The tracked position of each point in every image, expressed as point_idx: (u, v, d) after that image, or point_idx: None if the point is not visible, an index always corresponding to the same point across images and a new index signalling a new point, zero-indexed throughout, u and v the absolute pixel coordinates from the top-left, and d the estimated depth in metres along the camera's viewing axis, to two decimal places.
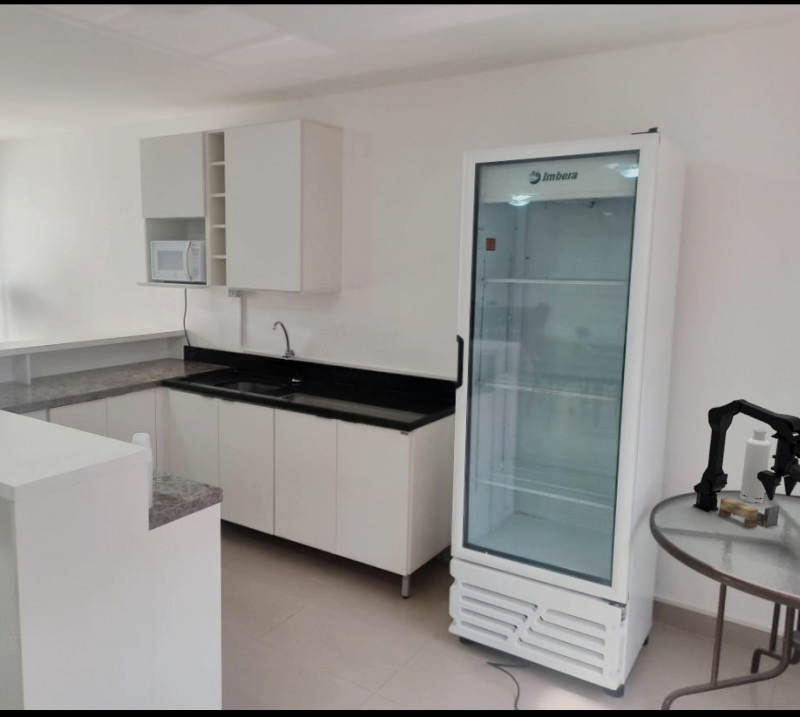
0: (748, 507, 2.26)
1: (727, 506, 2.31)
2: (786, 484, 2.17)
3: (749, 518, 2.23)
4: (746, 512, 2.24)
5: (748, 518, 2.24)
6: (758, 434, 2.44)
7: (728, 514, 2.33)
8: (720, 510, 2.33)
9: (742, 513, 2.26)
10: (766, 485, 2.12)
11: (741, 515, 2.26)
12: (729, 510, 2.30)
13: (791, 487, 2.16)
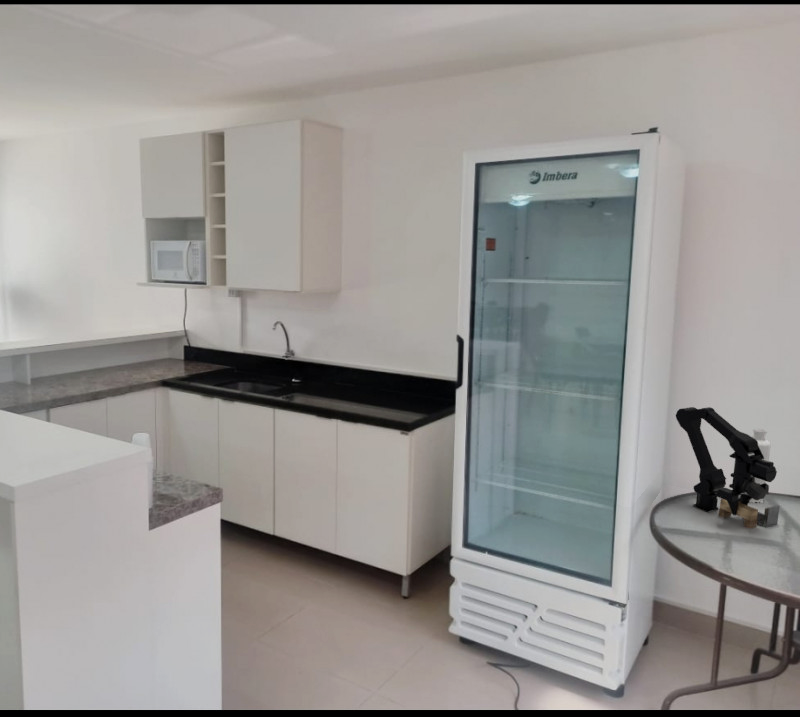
0: (748, 507, 2.26)
1: (727, 506, 2.31)
2: (740, 501, 2.30)
3: (749, 518, 2.23)
4: (746, 512, 2.24)
5: (748, 518, 2.24)
6: (758, 434, 2.44)
7: (728, 514, 2.33)
8: (720, 510, 2.33)
9: (742, 513, 2.26)
10: None
11: (741, 515, 2.26)
12: (729, 510, 2.30)
13: None
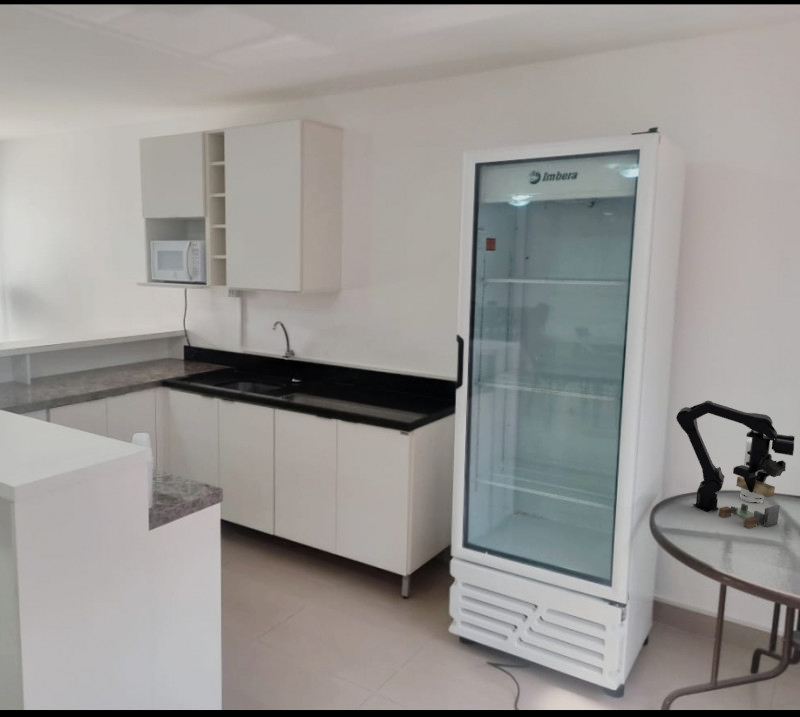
0: (765, 484, 2.28)
1: (744, 483, 2.33)
2: (756, 479, 2.33)
3: (766, 495, 2.26)
4: (763, 489, 2.27)
5: (764, 495, 2.26)
6: None
7: (728, 514, 2.33)
8: (720, 510, 2.33)
9: (759, 490, 2.28)
10: (746, 478, 2.30)
11: (758, 492, 2.28)
12: (746, 488, 2.32)
13: None
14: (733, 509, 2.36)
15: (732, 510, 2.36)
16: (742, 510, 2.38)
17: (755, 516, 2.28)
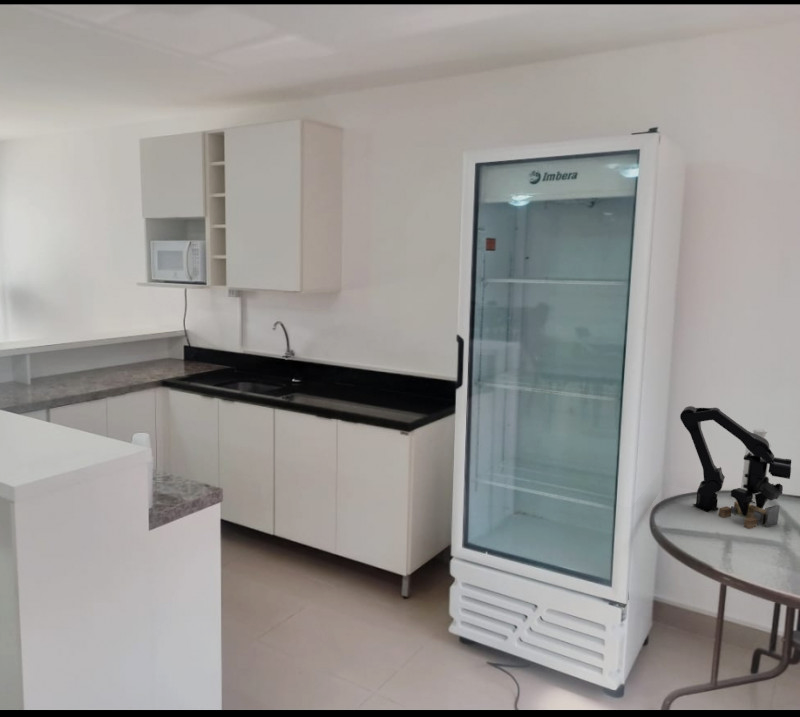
0: (762, 510, 2.30)
1: None
2: (757, 500, 2.35)
3: None
4: None
5: None
6: (758, 434, 2.44)
7: (728, 514, 2.33)
8: (720, 510, 2.33)
9: None
10: (740, 501, 2.31)
11: None
12: None
13: (762, 504, 2.34)
14: (733, 509, 2.36)
15: (732, 510, 2.36)
16: None
17: (755, 516, 2.28)
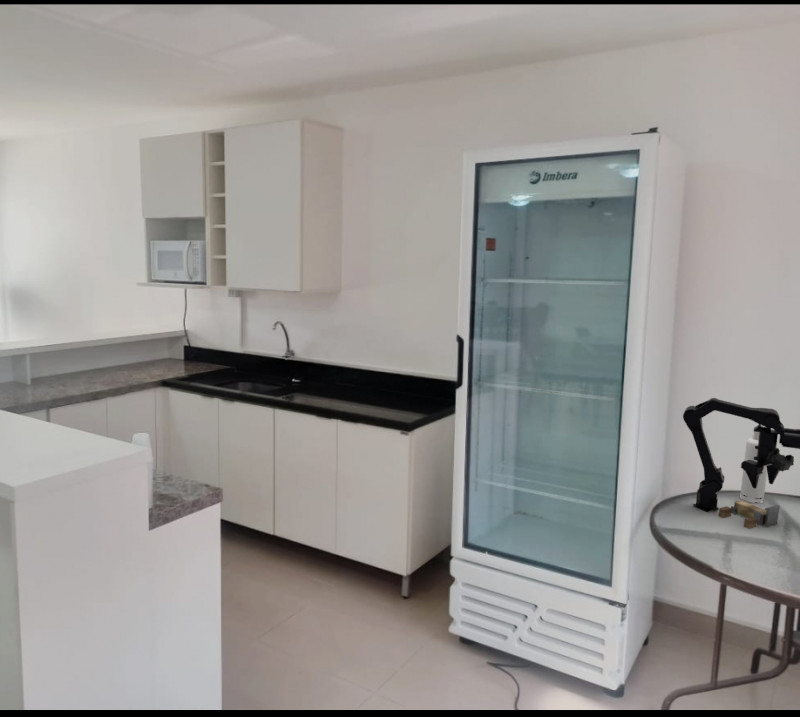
0: (762, 510, 2.30)
1: (741, 509, 2.35)
2: (769, 473, 2.33)
3: None
4: None
5: None
6: (758, 434, 2.44)
7: (728, 514, 2.33)
8: (720, 510, 2.33)
9: None
10: (750, 474, 2.28)
11: None
12: (743, 513, 2.34)
13: (774, 476, 2.32)
14: (733, 509, 2.36)
15: (732, 510, 2.36)
16: None
17: (755, 516, 2.28)
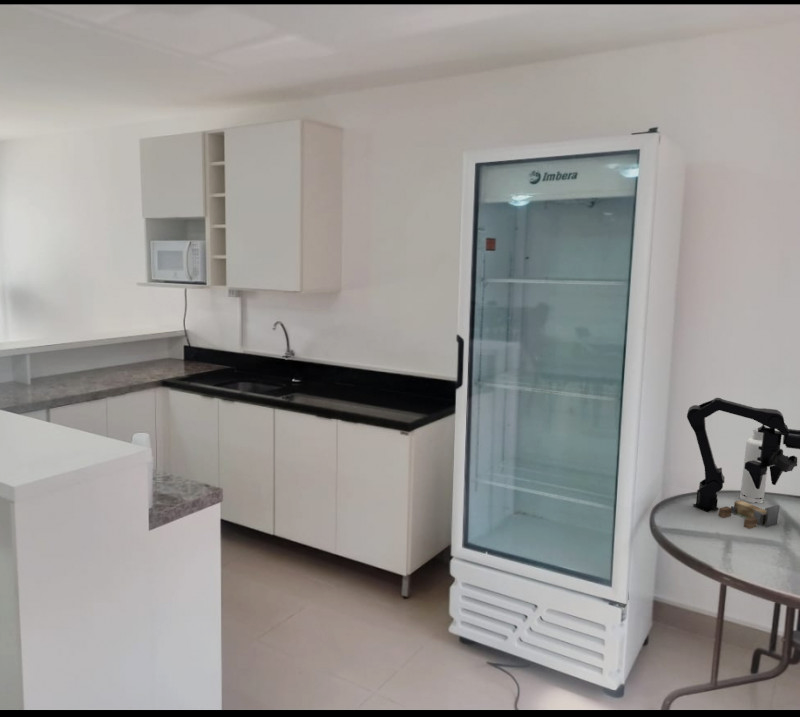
0: (762, 510, 2.30)
1: (741, 509, 2.35)
2: (772, 473, 2.33)
3: None
4: None
5: None
6: (758, 434, 2.44)
7: (728, 514, 2.33)
8: (720, 510, 2.33)
9: None
10: (753, 474, 2.28)
11: None
12: (743, 513, 2.34)
13: (777, 476, 2.32)
14: (733, 509, 2.36)
15: (732, 510, 2.36)
16: None
17: (755, 516, 2.28)
